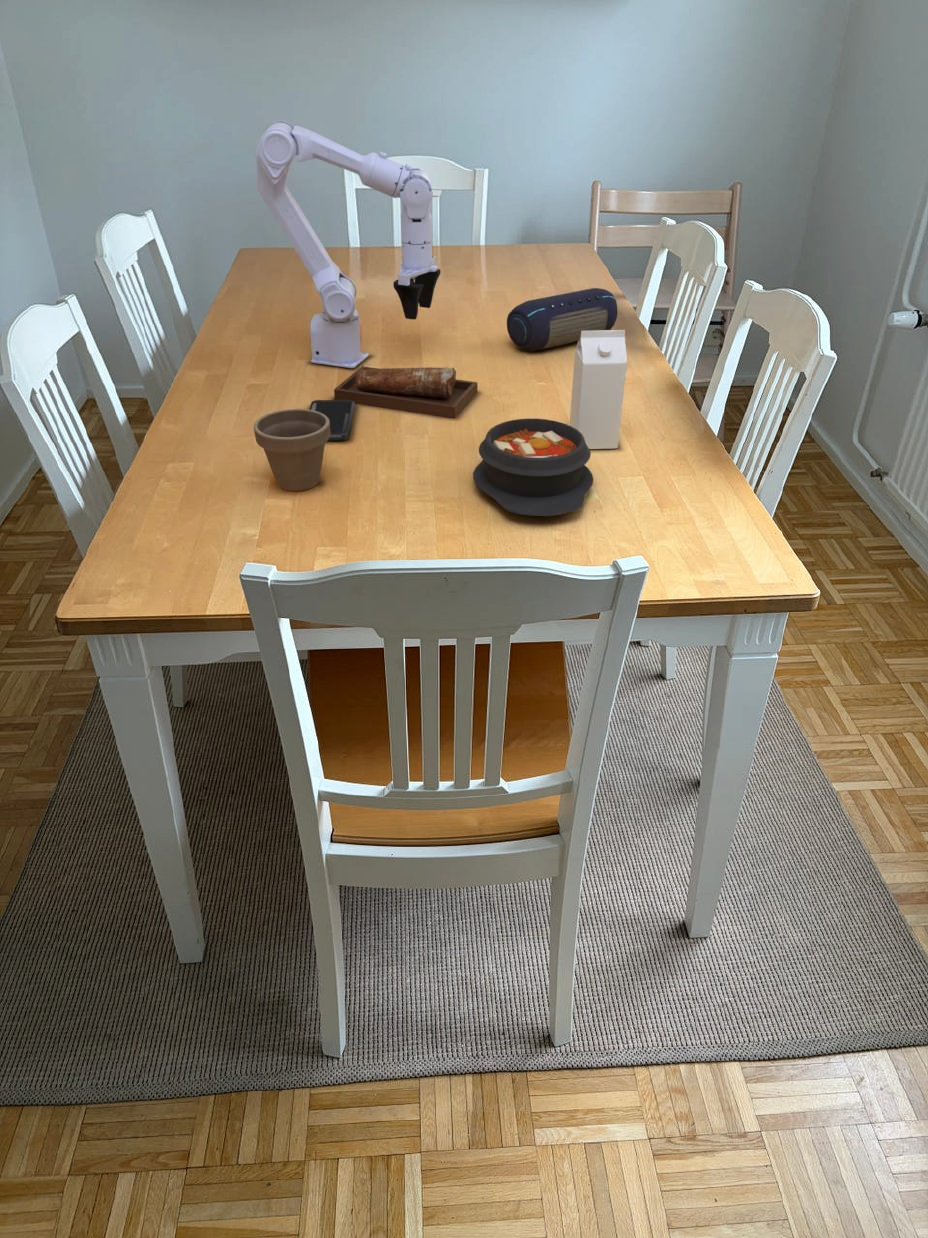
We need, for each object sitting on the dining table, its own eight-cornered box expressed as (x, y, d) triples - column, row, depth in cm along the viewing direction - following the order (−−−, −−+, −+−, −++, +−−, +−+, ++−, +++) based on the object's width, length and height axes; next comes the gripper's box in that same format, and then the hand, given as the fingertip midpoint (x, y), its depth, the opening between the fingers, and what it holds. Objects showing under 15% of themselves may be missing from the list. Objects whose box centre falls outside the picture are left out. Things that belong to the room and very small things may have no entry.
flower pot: (264, 466, 153) (257, 407, 147) (335, 464, 154) (331, 405, 148) (257, 500, 144) (249, 439, 138) (332, 498, 144) (327, 437, 139)
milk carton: (568, 432, 165) (577, 323, 154) (608, 431, 165) (620, 322, 154) (575, 450, 159) (585, 338, 148) (617, 449, 160) (630, 337, 149)
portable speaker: (528, 360, 193) (531, 311, 187) (500, 346, 200) (502, 297, 194) (623, 338, 204) (628, 291, 198) (594, 325, 211) (598, 279, 205)
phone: (301, 434, 160) (312, 399, 172) (302, 440, 161) (312, 405, 173) (348, 434, 160) (355, 399, 172) (349, 440, 161) (356, 405, 173)
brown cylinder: (452, 404, 173) (452, 374, 170) (352, 394, 176) (350, 365, 173) (460, 391, 178) (460, 362, 175) (362, 382, 181) (360, 353, 178)
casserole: (608, 524, 139) (614, 472, 134) (482, 530, 137) (483, 477, 132) (575, 450, 159) (579, 403, 154) (465, 454, 157) (465, 406, 153)
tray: (334, 400, 176) (333, 389, 174) (362, 376, 185) (362, 365, 184) (454, 418, 169) (455, 407, 168) (477, 392, 179) (477, 382, 178)
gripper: (422, 252, 173) (423, 326, 181) (449, 233, 184) (449, 304, 192) (386, 248, 175) (389, 321, 183) (415, 230, 186) (417, 300, 194)
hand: (418, 312), depth 188 cm, fingers open, 7 cm apart
